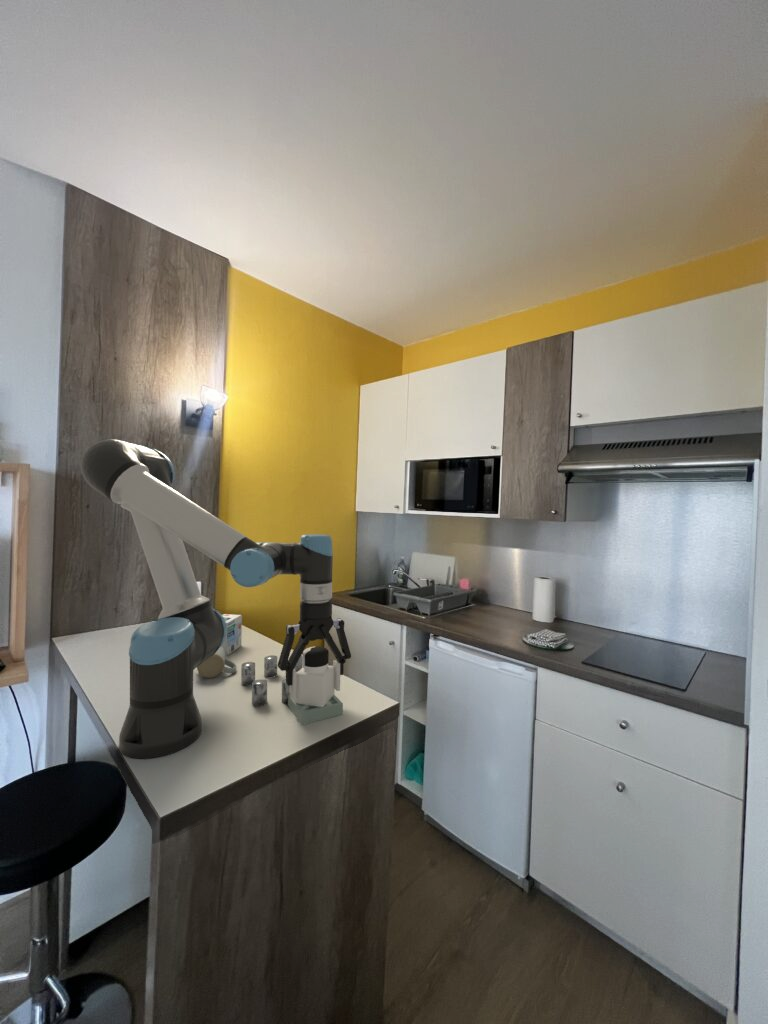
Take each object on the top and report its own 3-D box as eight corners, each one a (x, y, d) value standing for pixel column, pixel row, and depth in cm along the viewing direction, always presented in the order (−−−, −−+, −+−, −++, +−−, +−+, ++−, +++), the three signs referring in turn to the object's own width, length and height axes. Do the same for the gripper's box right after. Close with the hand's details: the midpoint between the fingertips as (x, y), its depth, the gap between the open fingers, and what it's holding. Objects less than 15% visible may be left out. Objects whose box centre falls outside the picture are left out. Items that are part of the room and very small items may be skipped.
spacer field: (255, 711, 99) (255, 690, 99) (238, 678, 117) (238, 660, 117) (323, 696, 107) (324, 677, 107) (297, 667, 126) (297, 651, 126)
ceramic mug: (196, 681, 115) (196, 653, 115) (197, 670, 123) (198, 644, 123) (237, 676, 119) (237, 649, 119) (235, 666, 127) (236, 641, 127)
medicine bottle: (334, 694, 102) (335, 645, 102) (323, 708, 95) (323, 655, 95) (308, 691, 104) (308, 642, 104) (294, 703, 97) (295, 652, 97)
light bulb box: (227, 656, 135) (227, 622, 135) (207, 655, 136) (207, 621, 136) (242, 645, 146) (242, 614, 145) (223, 644, 146) (224, 613, 146)
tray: (301, 724, 93) (301, 713, 93) (288, 705, 102) (288, 695, 102) (342, 714, 98) (342, 703, 98) (326, 697, 107) (326, 687, 107)
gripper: (272, 608, 91) (271, 710, 91) (366, 598, 102) (365, 689, 102) (263, 601, 97) (263, 696, 97) (353, 592, 108) (352, 678, 109)
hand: (315, 693), depth 100 cm, fingers open, 10 cm apart
